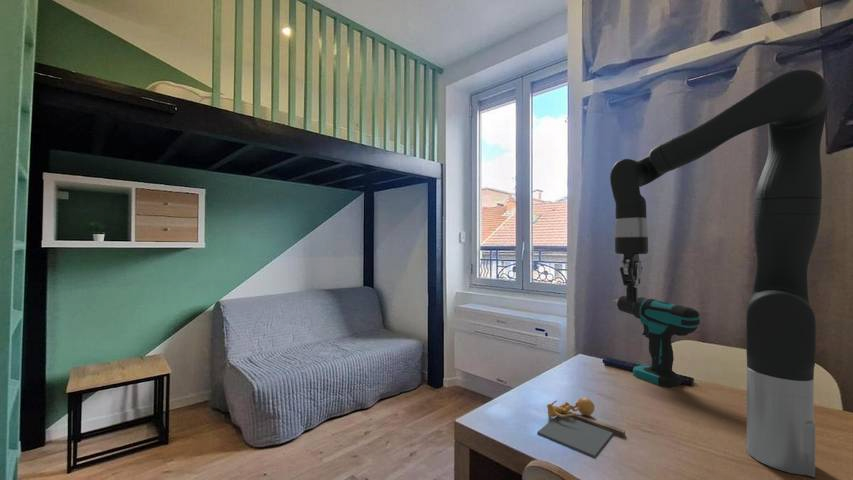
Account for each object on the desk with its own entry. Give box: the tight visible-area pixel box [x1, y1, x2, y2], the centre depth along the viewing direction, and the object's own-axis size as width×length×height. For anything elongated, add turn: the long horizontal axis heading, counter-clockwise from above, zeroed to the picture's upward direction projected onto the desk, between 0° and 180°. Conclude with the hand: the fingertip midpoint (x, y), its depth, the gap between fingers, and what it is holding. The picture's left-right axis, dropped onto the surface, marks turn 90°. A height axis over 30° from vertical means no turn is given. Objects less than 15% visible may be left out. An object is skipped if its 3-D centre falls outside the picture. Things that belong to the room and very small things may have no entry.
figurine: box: [546, 397, 595, 418], centre depth 85 cm, size 8×6×12 cm
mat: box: [537, 414, 614, 458], centre depth 77 cm, size 12×12×1 cm
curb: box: [561, 410, 626, 438], centre depth 82 cm, size 16×1×1 cm, turn 46°
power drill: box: [612, 295, 701, 389], centre depth 111 cm, size 26×9×25 cm, turn 25°
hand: (632, 301), depth 91 cm, fingers closed
